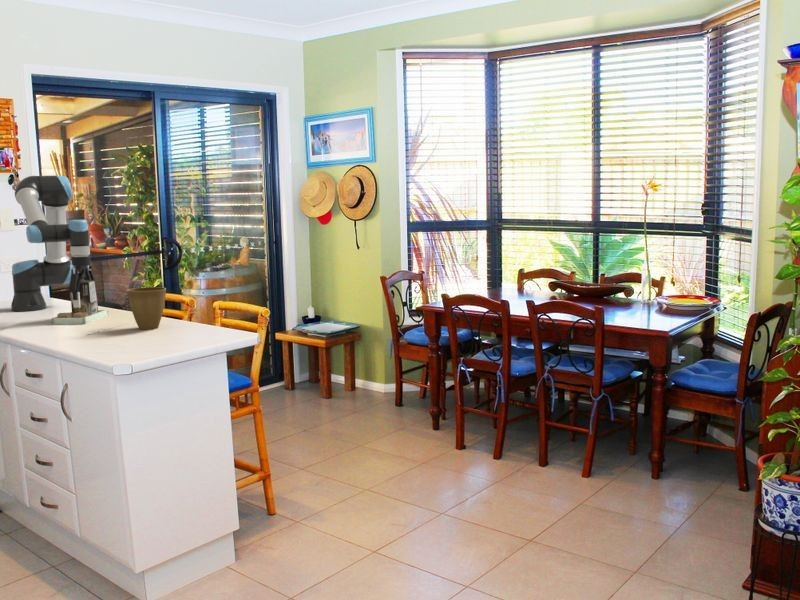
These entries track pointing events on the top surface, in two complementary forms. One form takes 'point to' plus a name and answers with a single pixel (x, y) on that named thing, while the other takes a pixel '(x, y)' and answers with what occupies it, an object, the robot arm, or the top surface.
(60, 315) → the walnut block
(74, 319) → the tray
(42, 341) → the top surface
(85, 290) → the coffee box
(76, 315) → the walnut block
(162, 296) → the plant pot
